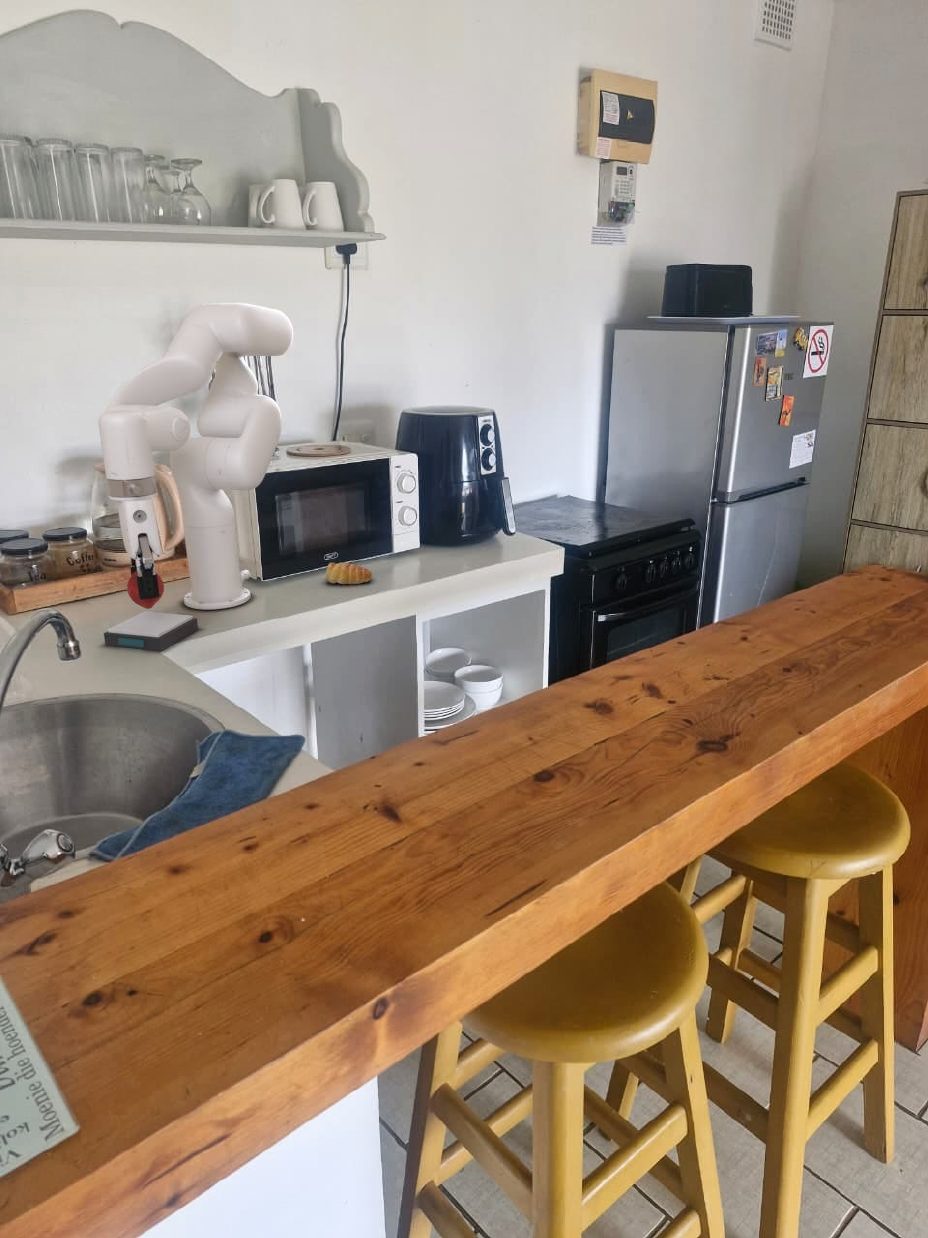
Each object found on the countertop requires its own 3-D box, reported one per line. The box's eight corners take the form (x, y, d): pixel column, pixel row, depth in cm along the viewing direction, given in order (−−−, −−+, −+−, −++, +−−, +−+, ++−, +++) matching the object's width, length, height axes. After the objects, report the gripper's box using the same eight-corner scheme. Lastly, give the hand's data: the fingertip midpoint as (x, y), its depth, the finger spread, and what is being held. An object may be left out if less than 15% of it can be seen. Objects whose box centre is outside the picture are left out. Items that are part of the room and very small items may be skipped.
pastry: (375, 576, 184) (374, 559, 183) (368, 586, 178) (367, 568, 177) (331, 576, 186) (330, 558, 184) (323, 585, 179) (322, 567, 178)
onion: (154, 614, 145) (148, 568, 143) (123, 613, 147) (117, 567, 144) (172, 604, 151) (166, 559, 148) (142, 602, 152) (136, 558, 149)
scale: (145, 624, 157) (143, 610, 156) (198, 629, 154) (196, 614, 153) (104, 646, 147) (101, 630, 146) (160, 652, 144) (157, 636, 143)
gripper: (165, 493, 137) (178, 603, 142) (147, 478, 151) (160, 578, 157) (115, 498, 133) (130, 610, 139) (101, 482, 148) (116, 584, 153)
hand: (146, 592), depth 148 cm, fingers closed on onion, 5 cm apart
